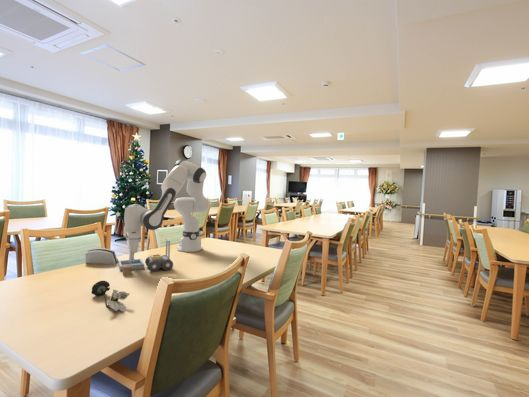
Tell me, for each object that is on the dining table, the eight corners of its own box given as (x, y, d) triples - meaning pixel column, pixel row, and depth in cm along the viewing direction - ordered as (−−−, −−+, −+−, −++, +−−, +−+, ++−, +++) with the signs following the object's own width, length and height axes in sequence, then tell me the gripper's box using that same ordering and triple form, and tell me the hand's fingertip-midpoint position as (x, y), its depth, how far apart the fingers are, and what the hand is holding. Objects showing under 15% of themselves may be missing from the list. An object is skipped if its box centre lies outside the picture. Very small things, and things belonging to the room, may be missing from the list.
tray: (118, 265, 156) (118, 260, 155) (141, 262, 162) (141, 258, 162) (119, 271, 145) (119, 266, 145) (143, 268, 152) (144, 264, 152)
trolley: (148, 272, 145) (149, 243, 144) (145, 266, 155) (146, 239, 154) (173, 270, 152) (174, 241, 151) (168, 264, 162) (169, 238, 161)
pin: (128, 261, 154) (129, 249, 154) (133, 261, 155) (133, 248, 155) (129, 262, 152) (129, 250, 152) (134, 262, 153) (134, 249, 153)
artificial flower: (111, 295, 118) (120, 273, 118) (125, 322, 101) (135, 296, 102) (88, 294, 112) (97, 271, 112) (99, 322, 95) (110, 295, 96)
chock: (122, 273, 143) (122, 264, 143) (130, 272, 145) (131, 263, 145) (123, 275, 139) (123, 267, 139) (131, 274, 141) (132, 266, 141)
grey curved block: (119, 261, 162) (116, 247, 159) (115, 266, 158) (112, 251, 154) (90, 260, 161) (87, 246, 158) (85, 265, 157) (82, 250, 153)
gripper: (124, 230, 160) (123, 253, 160) (127, 236, 143) (127, 262, 143) (136, 229, 163) (135, 252, 164) (140, 235, 146) (140, 261, 146)
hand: (131, 257), depth 153 cm, fingers closed on pin, 2 cm apart
